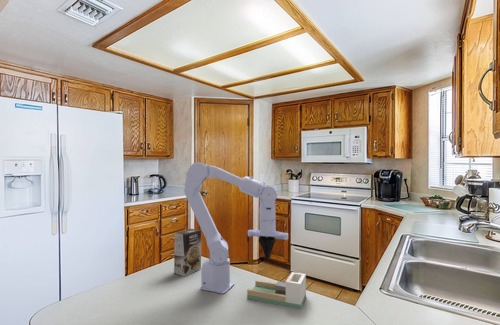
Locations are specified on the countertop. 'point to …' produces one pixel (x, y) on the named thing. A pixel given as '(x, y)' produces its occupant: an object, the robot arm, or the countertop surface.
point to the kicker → (280, 288)
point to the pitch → (291, 299)
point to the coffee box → (187, 252)
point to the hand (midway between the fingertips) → (267, 258)
